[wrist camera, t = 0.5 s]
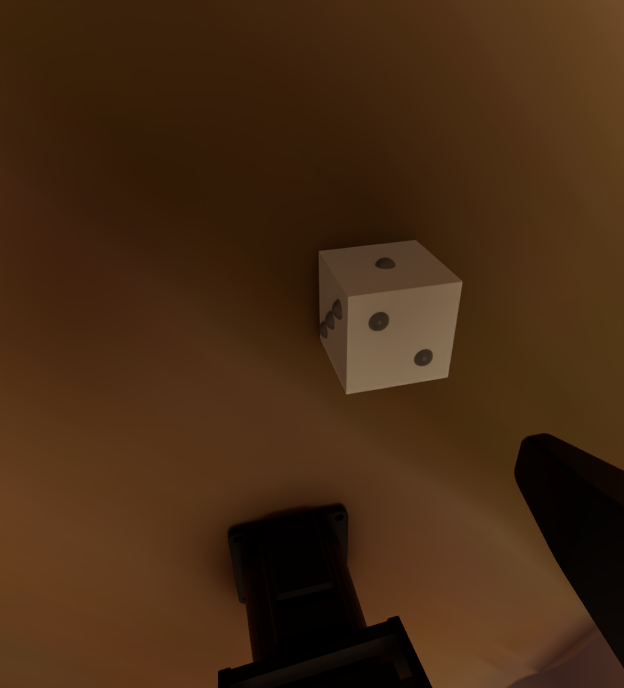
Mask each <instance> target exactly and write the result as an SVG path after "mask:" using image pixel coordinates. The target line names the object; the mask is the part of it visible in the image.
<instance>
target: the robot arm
mask: <svg viewBox="0 0 624 688" xmlns="http://www.w3.org/2000/svg"><path fill="white" fill-rule="evenodd" d="M514 475H515V479H516V482H517V485H518V487H519V489H520V491H521V493H522V495H523V497H524V499H525V501H526V503H527V505H528V507H529V509H530V511H531V513H532V515H533V516H534V518H535V520H536V522H537V524H538V526H539V528H540V530H541V532H542V534H543V536H544V538H545V540H546V542H547V544H548V546H549V548H550V550H551V552H552V554H553V556H554V557H555V559H556V561H557V563H558V564H559V566H560V568H561V569H562V571H563V573H564V574H565V576H566V578H567V579H568V581H569V582H570V584H571V585H572V587H573V589H574V590H575V592H576V593H577V595H578V597H579V598H580V600H581V601H582V603H583V604H584V606H585V608H586V609H587V611H588V612H589V614H590V616H591V617H592V619H593V620H594V622H595V623H596V625H597V627H598V628H599V630H600V631H601V633H602V635H603V636H604V638H605V639H606V641H607V642H608V644H609V646H610V647H611V649H612V650H613V652H614V654H615V655H616V657H617V658H618V660H619V661H620V663H621V664H622V666H623V668H624V471H623V470H621V469H619V468H617V467H615V466H613V465H611V464H609V463H607V462H605V461H603V460H601V459H599V458H597V457H595V456H593V455H591V454H589V453H587V452H585V451H583V450H581V449H579V448H577V447H575V446H573V445H571V444H569V443H567V442H565V441H563V440H561V439H558V438H556V437H554V436H552V435H550V434H547V433H541V434H536V435H531V436H527V437H525V438H524V439H523V440H522V442H521V445H520V449H519V453H518V457H517V461H516V465H515V469H514ZM228 542H229V547H230V553H231V558H232V564H233V569H234V575H235V580H236V586H237V591H238V597H239V601H240V602H241V603H243V604H246V611H247V619H248V626H249V634H250V642H251V650H252V657H253V663H249V664H246V665H243V666H240V667H236V668H233V669H231V668H230V667H229V668H226V669H222V670H219V671H218V688H432V686H431V684H430V682H429V680H428V678H427V675H426V673H425V671H424V669H423V667H422V665H421V663H420V661H419V658H418V656H417V654H416V652H415V650H414V648H413V646H412V644H411V641H410V639H409V637H408V635H407V633H406V631H405V629H404V626H403V624H402V622H401V620H400V618H399V616H394V617H391V618H388V619H387V621H385V622H382V623H379V624H376V625H373V626H369V627H367V625H366V622H365V619H364V616H363V613H362V610H361V606H360V603H359V600H358V597H357V594H356V591H355V588H354V585H353V582H352V579H351V576H350V573H349V569H348V566H347V544H348V514H347V511H346V508H345V507H344V506H335V507H330V508H325V509H320V510H316V511H311V512H306V513H301V514H297V515H292V516H287V517H282V518H278V519H273V520H268V521H263V522H259V523H254V524H249V525H244V526H240V527H235V528H233V529H231V530H230V531H229V532H228Z"/></svg>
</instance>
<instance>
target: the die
mask: <svg viewBox="0 0 624 688" xmlns="http://www.w3.org/2000/svg"><path fill="white" fill-rule="evenodd" d="M461 289H462V281H461V280H460V279H459V278H458V277H457V276H456V275H455V274H453V273H452V272H451V271H450V270H449V269H448V268H447V267H446V266H445V265H443V264H442V263H441V262H440V261H439V260H438V259H437V258H436V257H434V256H433V255H432V254H431V253H430V252H429V251H428V250H427V249H425V248H424V247H423V246H422V245H421V244H420V243H419V242H418V241H416V240H411V241H402V242H394V243H385V244H376V245H367V246H359V247H350V248H341V249H332V250H323V251H319V304H320V326H319V332H320V340H321V342H322V344H323V346H324V348H325V350H326V352H327V354H328V357H329V359H330V361H331V363H332V365H333V367H334V369H335V371H336V374H337V376H338V378H339V380H340V382H341V384H342V386H343V388H344V391H345V393H346V394H352V393H358V392H364V391H370V390H375V389H381V388H387V387H393V386H399V385H405V384H411V383H417V382H423V381H429V380H435V379H440V378H446V377H448V372H449V366H450V359H451V353H452V347H453V340H454V334H455V327H456V321H457V314H458V308H459V301H460V295H461Z"/></svg>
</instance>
